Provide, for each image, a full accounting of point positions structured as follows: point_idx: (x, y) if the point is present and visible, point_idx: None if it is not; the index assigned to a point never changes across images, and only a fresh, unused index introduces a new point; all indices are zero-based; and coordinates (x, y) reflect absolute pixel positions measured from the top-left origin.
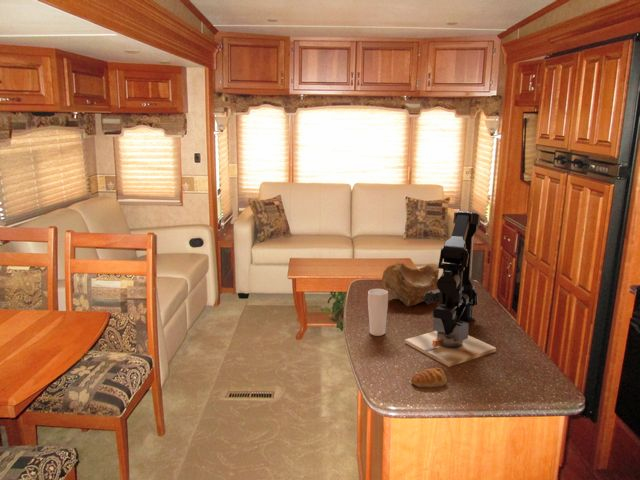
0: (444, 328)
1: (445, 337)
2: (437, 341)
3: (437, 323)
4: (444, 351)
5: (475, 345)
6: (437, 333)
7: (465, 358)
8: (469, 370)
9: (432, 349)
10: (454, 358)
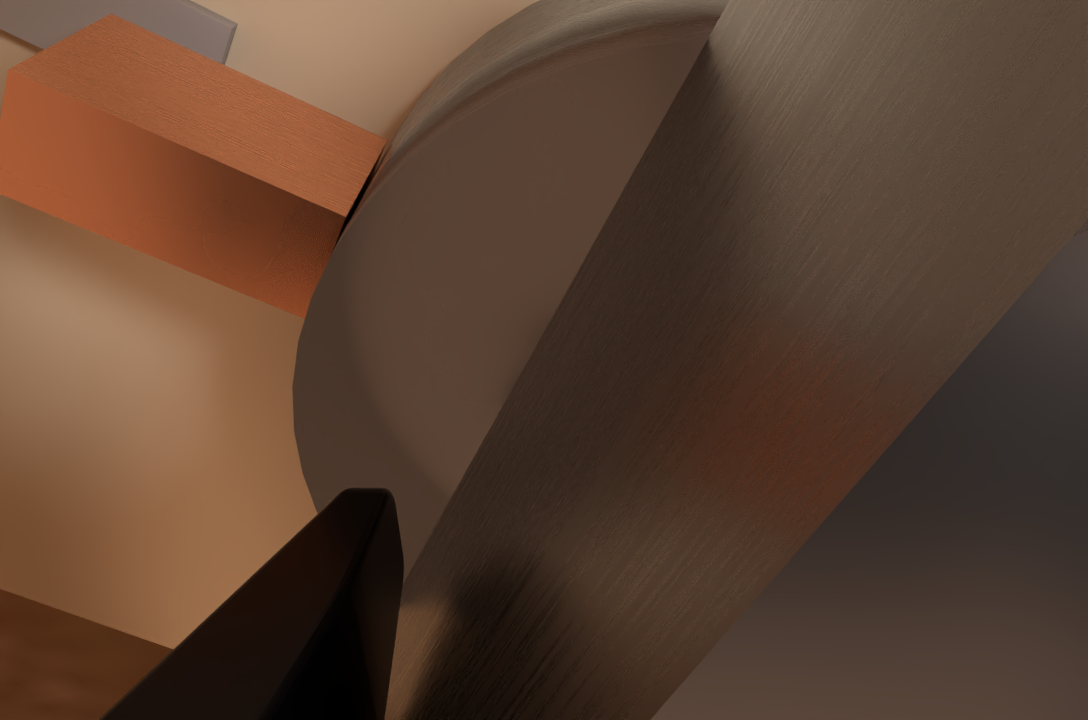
0: (190, 654)
1: (356, 419)
2: (105, 217)
3: (797, 128)
4: (190, 318)
5: None
6: (519, 92)
7: None
8: (21, 694)
9: (41, 46)
10: (47, 545)
